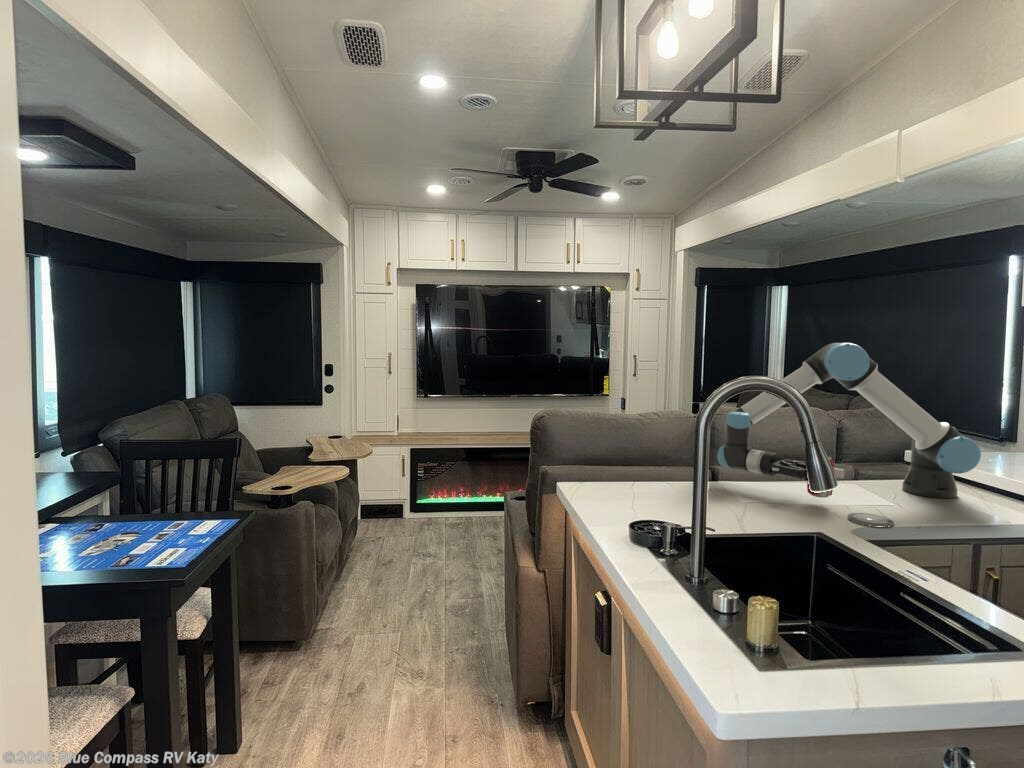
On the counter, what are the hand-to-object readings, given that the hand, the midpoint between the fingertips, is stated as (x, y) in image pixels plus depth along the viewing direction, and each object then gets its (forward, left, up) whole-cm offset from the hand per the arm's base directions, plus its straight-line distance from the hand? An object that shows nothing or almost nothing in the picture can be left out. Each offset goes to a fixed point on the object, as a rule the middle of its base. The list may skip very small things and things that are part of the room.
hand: (837, 475), depth 175 cm
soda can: (0, -5, -7) cm, 9 cm away
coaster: (+5, +11, -10) cm, 16 cm away
